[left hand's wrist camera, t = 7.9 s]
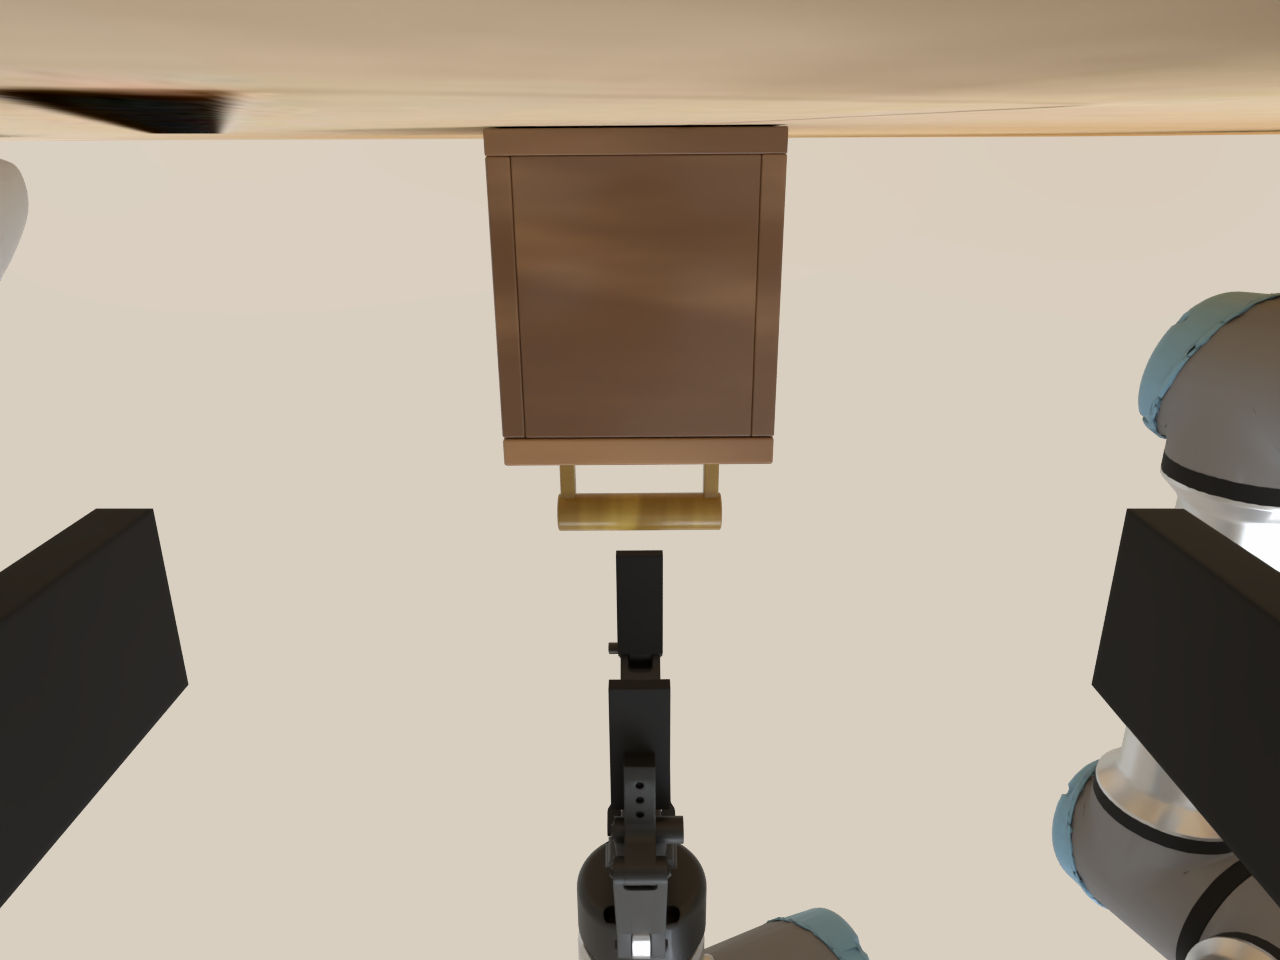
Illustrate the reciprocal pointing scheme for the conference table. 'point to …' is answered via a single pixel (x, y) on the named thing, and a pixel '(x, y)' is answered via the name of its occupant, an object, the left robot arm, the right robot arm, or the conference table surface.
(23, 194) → the projector
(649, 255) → the chest
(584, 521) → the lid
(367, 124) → the conference table surface
